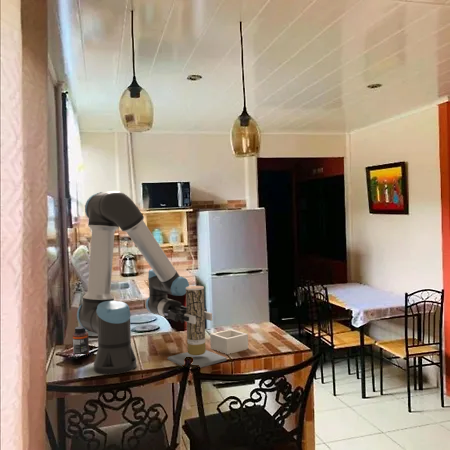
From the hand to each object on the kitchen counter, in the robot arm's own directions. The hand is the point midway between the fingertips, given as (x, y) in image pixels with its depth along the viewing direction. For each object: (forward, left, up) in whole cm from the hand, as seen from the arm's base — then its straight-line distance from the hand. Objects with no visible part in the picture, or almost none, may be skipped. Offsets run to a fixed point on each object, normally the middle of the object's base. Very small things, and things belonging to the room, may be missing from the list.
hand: (203, 318), depth 173 cm
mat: (0, +5, -17) cm, 17 cm away
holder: (+18, +8, -17) cm, 26 cm away
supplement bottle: (-31, +41, -17) cm, 54 cm away
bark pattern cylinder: (0, +5, -14) cm, 15 cm away
